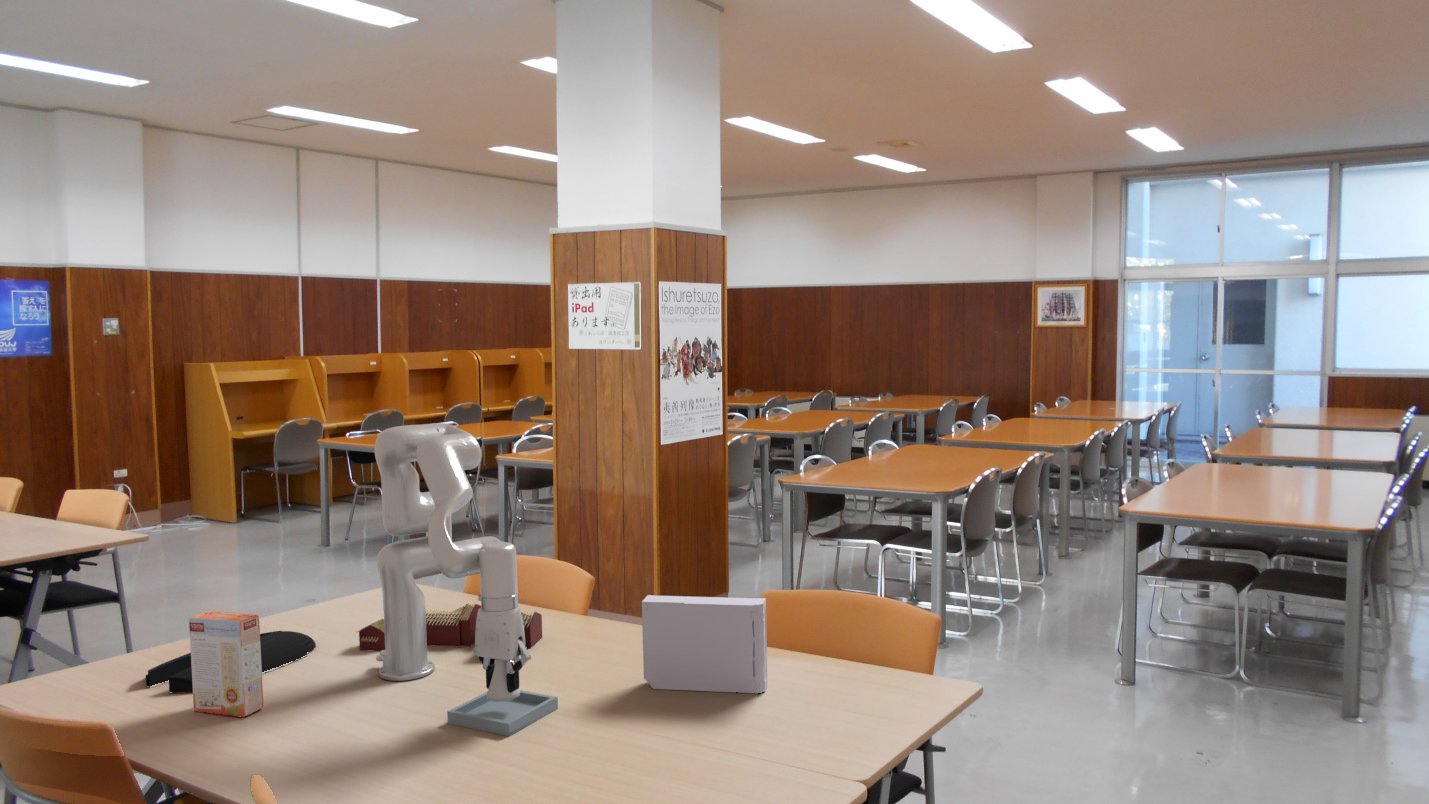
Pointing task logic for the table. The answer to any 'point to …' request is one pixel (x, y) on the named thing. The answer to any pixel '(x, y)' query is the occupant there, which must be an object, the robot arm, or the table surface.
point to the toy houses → (450, 629)
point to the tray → (502, 712)
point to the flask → (500, 684)
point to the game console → (705, 643)
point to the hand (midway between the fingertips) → (502, 687)
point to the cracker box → (226, 663)
